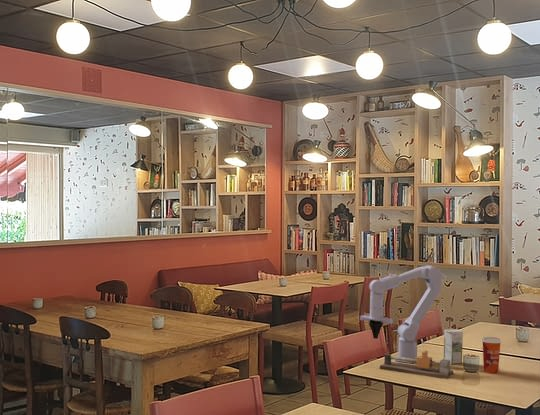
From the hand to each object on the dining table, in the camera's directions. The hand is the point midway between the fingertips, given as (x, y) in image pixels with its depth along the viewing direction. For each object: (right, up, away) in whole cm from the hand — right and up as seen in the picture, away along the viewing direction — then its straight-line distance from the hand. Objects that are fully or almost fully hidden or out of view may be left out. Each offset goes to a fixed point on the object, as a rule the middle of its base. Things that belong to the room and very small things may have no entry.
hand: (375, 338), depth 287 cm
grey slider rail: (+14, -10, -18) cm, 25 cm away
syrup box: (+34, -11, -1) cm, 36 cm away
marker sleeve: (+17, -8, -20) cm, 27 cm away
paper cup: (+45, -11, -16) cm, 50 cm away
